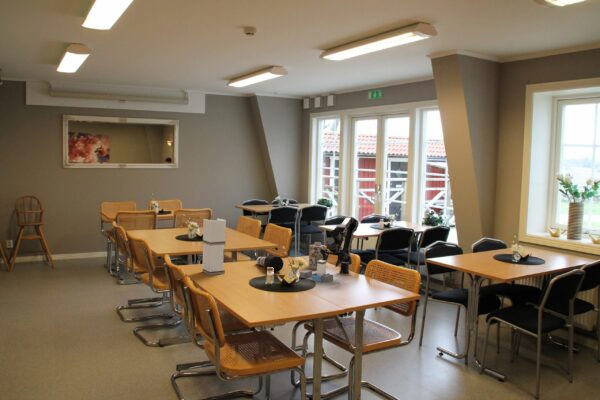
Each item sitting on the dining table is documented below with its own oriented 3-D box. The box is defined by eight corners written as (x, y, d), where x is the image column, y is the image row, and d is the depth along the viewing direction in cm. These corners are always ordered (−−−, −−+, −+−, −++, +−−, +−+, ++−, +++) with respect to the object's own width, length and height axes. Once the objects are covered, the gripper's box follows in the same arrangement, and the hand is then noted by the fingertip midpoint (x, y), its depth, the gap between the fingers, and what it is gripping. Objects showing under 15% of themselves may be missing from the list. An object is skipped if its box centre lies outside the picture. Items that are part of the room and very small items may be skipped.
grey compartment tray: (298, 279, 324) (299, 271, 324) (307, 276, 332) (307, 269, 331) (324, 284, 312) (325, 276, 312) (333, 282, 320) (333, 274, 319)
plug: (316, 279, 320) (316, 260, 319) (320, 278, 323) (320, 259, 322) (321, 280, 317) (322, 261, 317) (325, 279, 321) (326, 260, 320)
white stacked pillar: (224, 273, 334) (225, 220, 331) (209, 275, 328) (210, 220, 325) (217, 270, 343) (218, 218, 341) (202, 271, 337) (203, 218, 335)
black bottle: (260, 269, 372) (266, 256, 374) (279, 274, 342) (285, 260, 344) (248, 263, 368) (254, 251, 370) (267, 268, 338) (273, 254, 340)
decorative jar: (325, 269, 357) (326, 244, 356) (308, 268, 358) (309, 243, 356) (324, 266, 369) (325, 241, 368) (308, 265, 369) (309, 240, 368)
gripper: (319, 236, 332) (311, 258, 326) (344, 240, 321) (336, 262, 316) (327, 244, 340) (319, 265, 335) (351, 247, 329) (344, 270, 324)
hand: (329, 265), depth 327 cm, fingers open, 9 cm apart
